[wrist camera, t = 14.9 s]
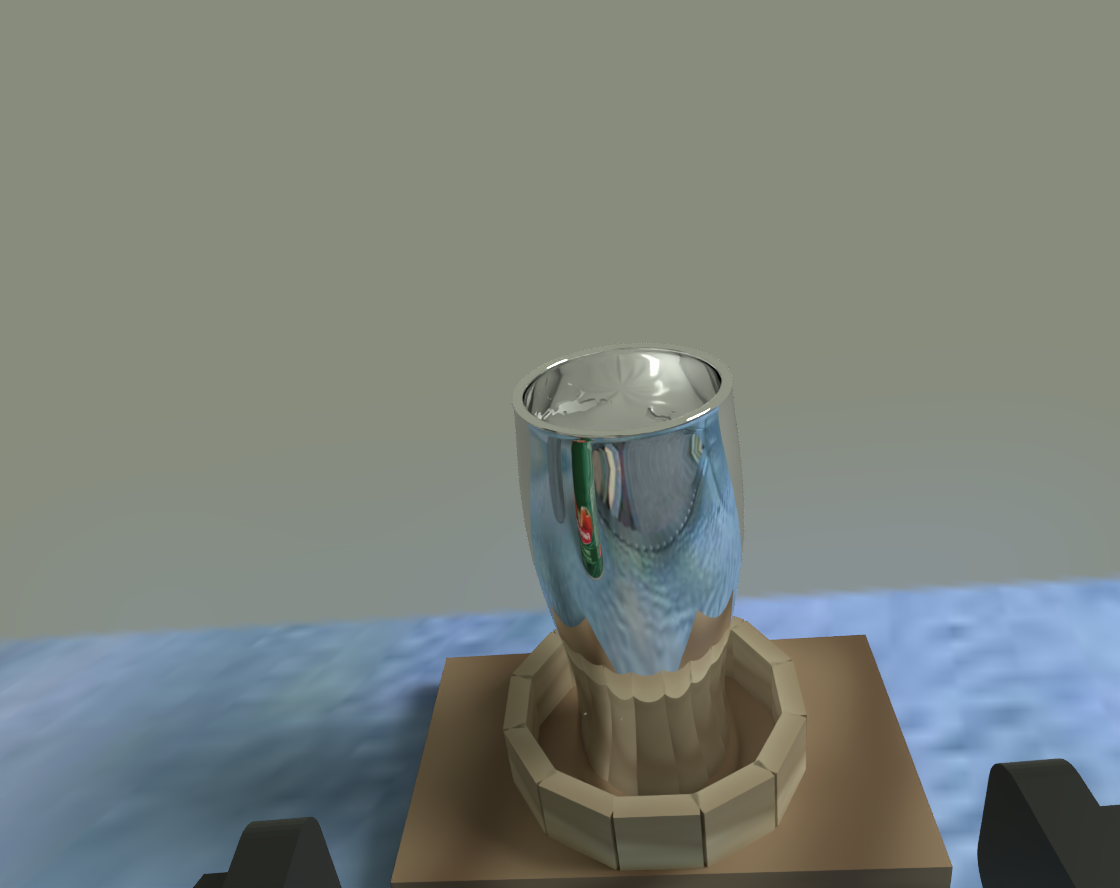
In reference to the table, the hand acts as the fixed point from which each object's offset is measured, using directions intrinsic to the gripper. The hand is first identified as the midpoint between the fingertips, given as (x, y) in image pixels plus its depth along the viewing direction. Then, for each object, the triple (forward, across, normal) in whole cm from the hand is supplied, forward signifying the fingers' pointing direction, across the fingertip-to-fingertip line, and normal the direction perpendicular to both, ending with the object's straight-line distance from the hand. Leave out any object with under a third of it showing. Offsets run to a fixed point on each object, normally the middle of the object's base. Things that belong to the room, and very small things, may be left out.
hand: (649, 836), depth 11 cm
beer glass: (+17, -1, +17) cm, 24 cm away
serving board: (+17, -1, +18) cm, 25 cm away
